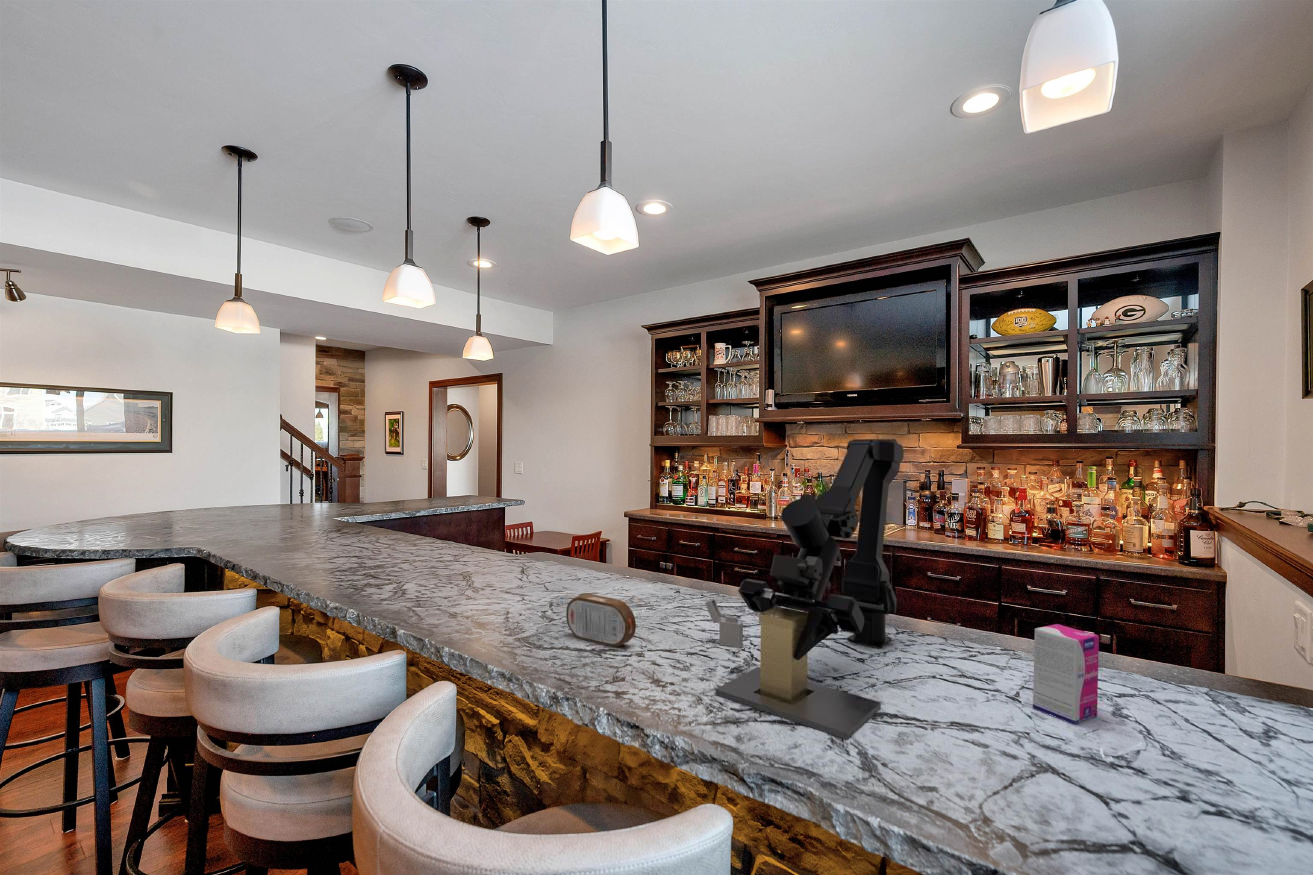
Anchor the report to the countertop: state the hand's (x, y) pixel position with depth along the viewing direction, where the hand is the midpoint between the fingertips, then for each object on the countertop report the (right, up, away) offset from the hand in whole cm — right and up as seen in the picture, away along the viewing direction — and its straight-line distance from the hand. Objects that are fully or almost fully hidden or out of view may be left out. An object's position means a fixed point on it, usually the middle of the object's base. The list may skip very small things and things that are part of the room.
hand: (779, 653), depth 85 cm
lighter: (-5, -7, +25) cm, 26 cm away
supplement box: (+39, -7, -3) cm, 40 cm away
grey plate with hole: (+2, -7, 0) cm, 7 cm away
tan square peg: (+1, -7, +1) cm, 7 cm away
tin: (-29, -7, +25) cm, 39 cm away
